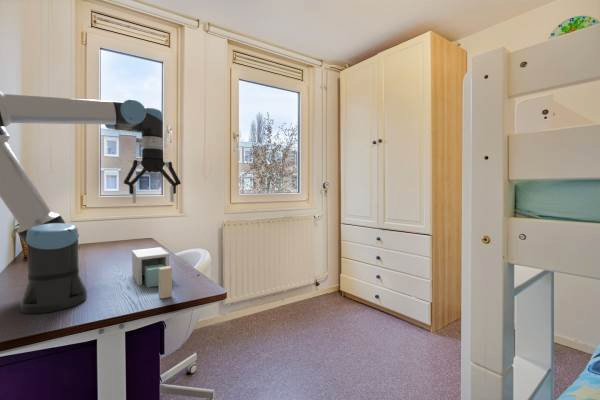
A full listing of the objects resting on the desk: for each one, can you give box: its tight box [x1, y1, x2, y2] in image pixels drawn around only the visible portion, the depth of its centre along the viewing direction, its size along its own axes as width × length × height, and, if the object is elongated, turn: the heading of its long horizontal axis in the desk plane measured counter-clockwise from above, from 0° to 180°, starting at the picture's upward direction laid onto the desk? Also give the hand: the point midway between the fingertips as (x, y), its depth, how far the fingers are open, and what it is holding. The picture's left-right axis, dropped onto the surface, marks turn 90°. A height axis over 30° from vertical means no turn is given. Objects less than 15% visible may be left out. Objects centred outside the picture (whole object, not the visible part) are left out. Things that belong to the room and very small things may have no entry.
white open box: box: [131, 246, 170, 286], centre depth 113 cm, size 10×15×10 cm
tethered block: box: [144, 264, 173, 299], centre depth 99 cm, size 6×20×9 cm, turn 36°
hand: (153, 202), depth 117 cm, fingers open, 13 cm apart
